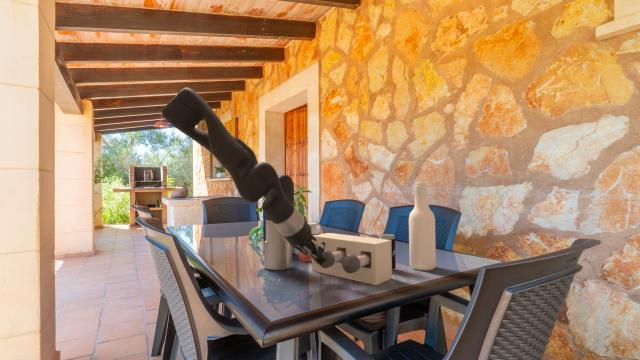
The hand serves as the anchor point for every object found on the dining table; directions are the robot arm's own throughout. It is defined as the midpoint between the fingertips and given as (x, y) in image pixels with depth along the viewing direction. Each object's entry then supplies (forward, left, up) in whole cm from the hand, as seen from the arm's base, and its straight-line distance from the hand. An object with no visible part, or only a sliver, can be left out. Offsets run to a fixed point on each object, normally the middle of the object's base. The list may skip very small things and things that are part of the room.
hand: (321, 262), depth 103 cm
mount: (+7, +12, -6) cm, 15 cm away
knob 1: (+3, +5, -2) cm, 6 cm away
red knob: (-5, +10, -1) cm, 11 cm away
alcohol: (+31, +25, -7) cm, 40 cm away
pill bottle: (-11, +31, -7) cm, 34 cm away
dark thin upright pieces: (-27, +39, -7) cm, 48 cm away
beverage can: (+19, +20, -7) cm, 28 cm away
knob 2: (+11, 0, -2) cm, 11 cm away
